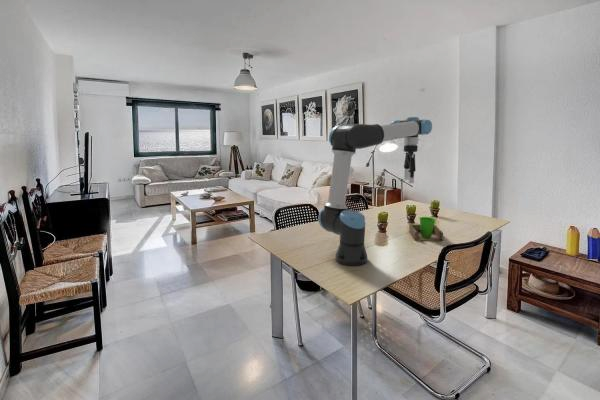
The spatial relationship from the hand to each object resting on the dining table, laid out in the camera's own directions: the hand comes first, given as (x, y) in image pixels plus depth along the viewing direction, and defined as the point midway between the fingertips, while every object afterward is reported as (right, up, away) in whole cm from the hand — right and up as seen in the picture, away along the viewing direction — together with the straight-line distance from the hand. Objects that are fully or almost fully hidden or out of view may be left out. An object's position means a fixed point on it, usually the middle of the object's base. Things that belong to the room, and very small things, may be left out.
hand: (408, 181), depth 191 cm
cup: (+9, -33, -3) cm, 34 cm away
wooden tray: (+9, -32, 0) cm, 34 cm away
